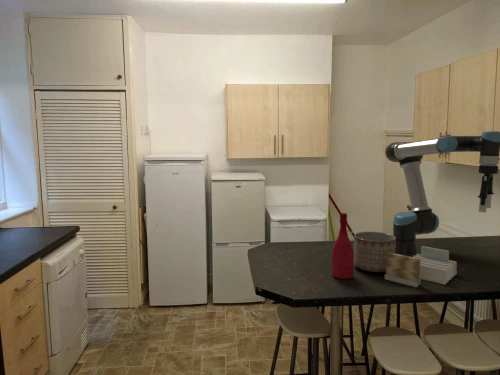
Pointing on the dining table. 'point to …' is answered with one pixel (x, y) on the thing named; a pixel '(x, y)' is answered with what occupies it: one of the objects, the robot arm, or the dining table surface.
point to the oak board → (403, 267)
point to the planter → (373, 250)
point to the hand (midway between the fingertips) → (484, 209)
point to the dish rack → (436, 265)
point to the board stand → (402, 280)
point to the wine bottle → (342, 253)
